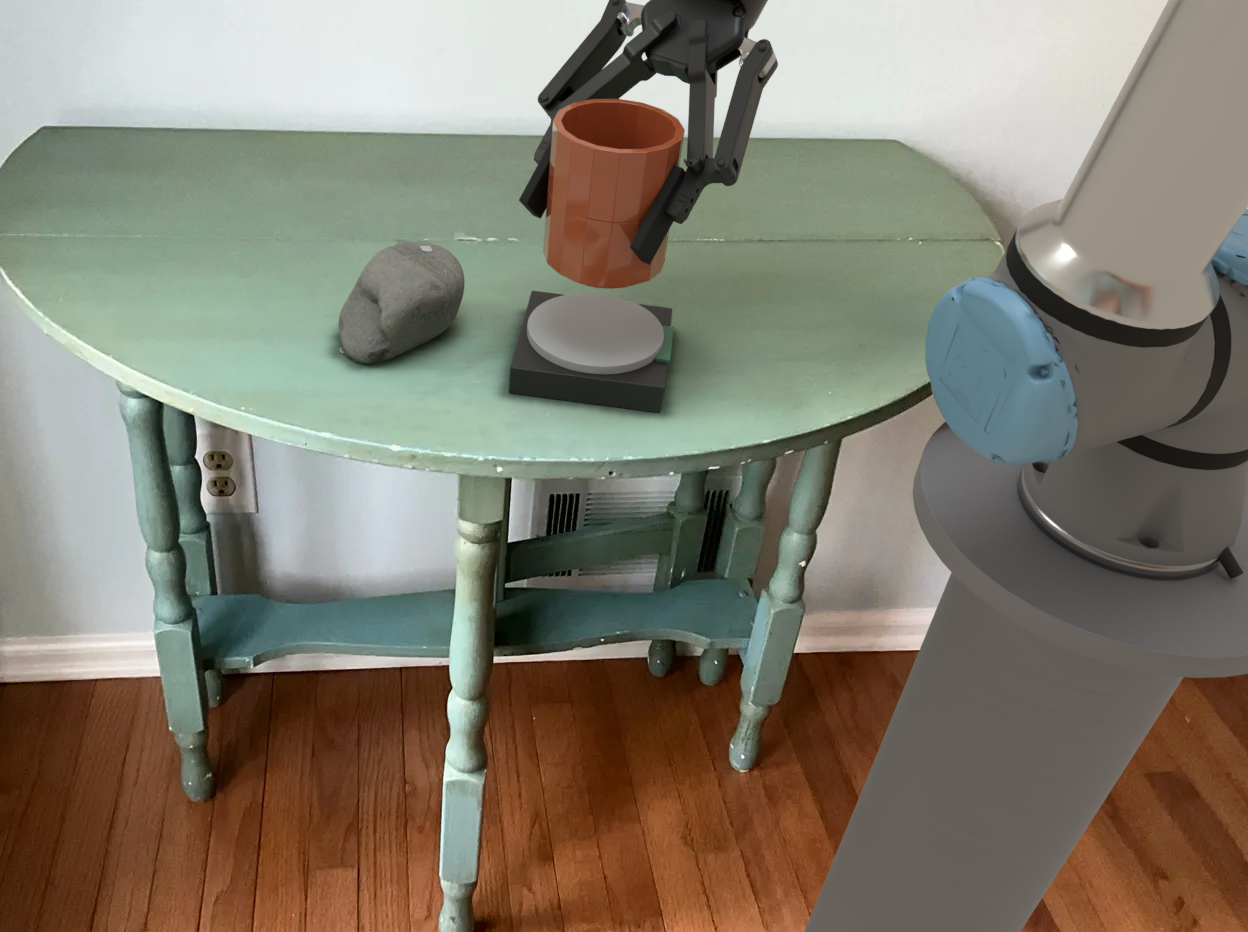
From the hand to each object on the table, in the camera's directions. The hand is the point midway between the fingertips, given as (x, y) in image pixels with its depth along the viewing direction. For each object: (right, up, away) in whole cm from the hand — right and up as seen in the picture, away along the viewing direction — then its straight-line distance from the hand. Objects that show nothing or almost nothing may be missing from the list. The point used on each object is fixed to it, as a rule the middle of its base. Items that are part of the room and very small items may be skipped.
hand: (583, 232), depth 87 cm
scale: (+1, -8, +10) cm, 13 cm away
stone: (-15, -5, +12) cm, 20 cm away
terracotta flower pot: (+2, -1, +5) cm, 5 cm away
